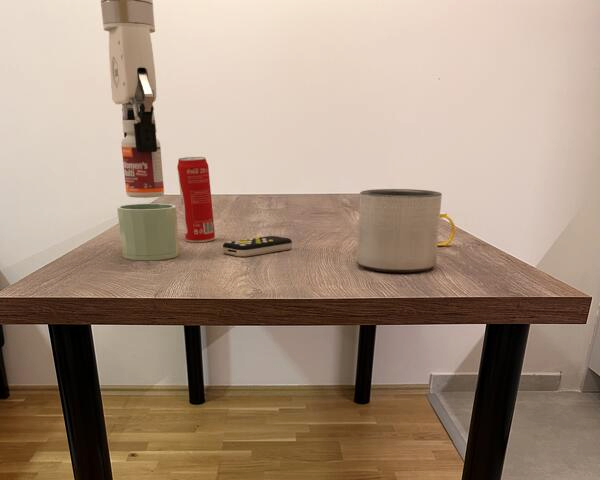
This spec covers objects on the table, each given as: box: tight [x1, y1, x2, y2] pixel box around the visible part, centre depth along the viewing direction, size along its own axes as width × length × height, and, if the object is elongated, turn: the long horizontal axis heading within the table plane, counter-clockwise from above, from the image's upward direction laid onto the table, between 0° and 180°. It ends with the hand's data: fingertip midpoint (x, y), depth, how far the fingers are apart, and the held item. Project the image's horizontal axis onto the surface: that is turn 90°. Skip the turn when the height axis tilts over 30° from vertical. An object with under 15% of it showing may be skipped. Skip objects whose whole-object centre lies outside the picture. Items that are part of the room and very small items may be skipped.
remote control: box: [222, 235, 293, 258], centre depth 113 cm, size 6×13×2 cm, turn 136°
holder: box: [116, 203, 180, 262], centre depth 108 cm, size 10×10×8 cm
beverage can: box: [176, 156, 216, 243], centre depth 121 cm, size 6×6×15 cm
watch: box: [437, 211, 456, 247], centre depth 119 cm, size 6×3×6 cm, turn 86°
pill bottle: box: [120, 119, 165, 199], centre depth 103 cm, size 6×6×11 cm
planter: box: [356, 188, 443, 274], centre depth 99 cm, size 13×12×11 cm
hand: (141, 150), depth 102 cm, fingers closed on pill bottle, 6 cm apart
